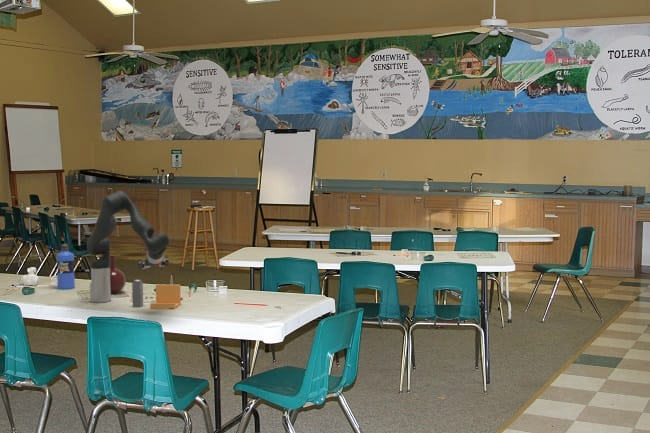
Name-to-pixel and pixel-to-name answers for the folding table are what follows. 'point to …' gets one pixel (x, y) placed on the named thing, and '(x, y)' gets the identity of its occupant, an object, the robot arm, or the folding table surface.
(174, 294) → the keeper bracket
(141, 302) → the link block
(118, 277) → the round-bottom flask
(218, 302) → the folding table surface
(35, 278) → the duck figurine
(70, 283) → the water bottle
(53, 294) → the folding table surface
